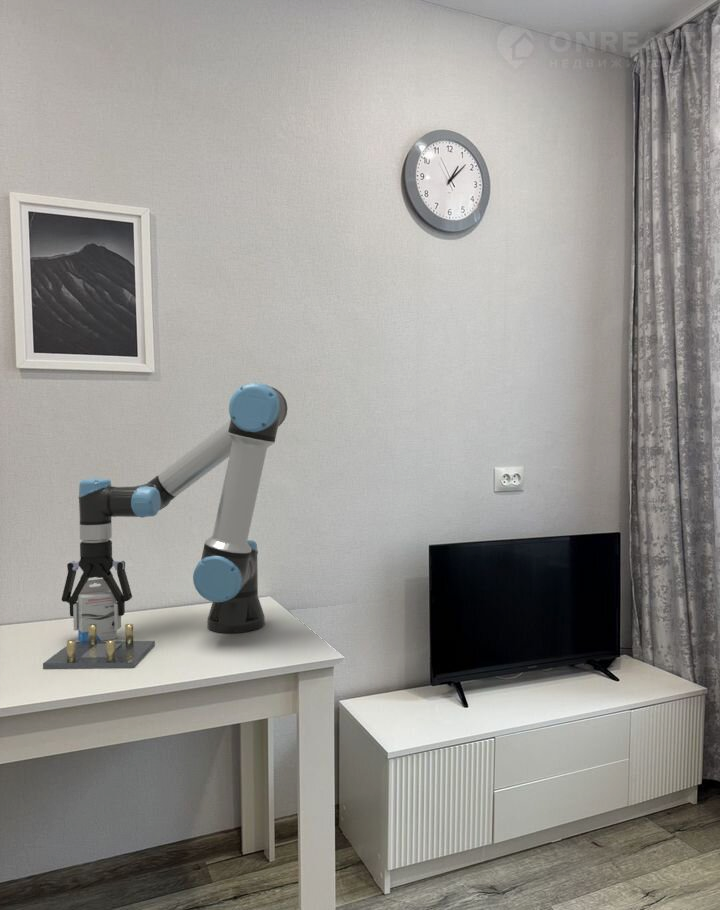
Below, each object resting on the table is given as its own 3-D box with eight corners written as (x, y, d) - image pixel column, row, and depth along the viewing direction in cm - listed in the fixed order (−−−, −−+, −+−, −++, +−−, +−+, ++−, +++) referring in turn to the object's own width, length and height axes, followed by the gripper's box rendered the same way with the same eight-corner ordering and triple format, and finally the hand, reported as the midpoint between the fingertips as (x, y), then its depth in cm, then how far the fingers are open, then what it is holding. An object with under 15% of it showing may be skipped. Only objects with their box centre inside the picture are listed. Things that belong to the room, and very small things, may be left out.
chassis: (154, 645, 169) (154, 622, 168) (134, 667, 153) (133, 642, 152) (72, 646, 168) (71, 623, 168) (43, 668, 152) (42, 643, 152)
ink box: (82, 644, 170) (80, 585, 170) (77, 639, 174) (76, 581, 174) (117, 638, 175) (116, 580, 174) (112, 633, 179) (111, 577, 178)
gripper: (144, 537, 178) (146, 624, 178) (58, 538, 177) (59, 625, 178) (135, 542, 170) (137, 632, 171) (45, 543, 170) (47, 633, 171)
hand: (97, 628), depth 174 cm, fingers closed on ink box, 9 cm apart
